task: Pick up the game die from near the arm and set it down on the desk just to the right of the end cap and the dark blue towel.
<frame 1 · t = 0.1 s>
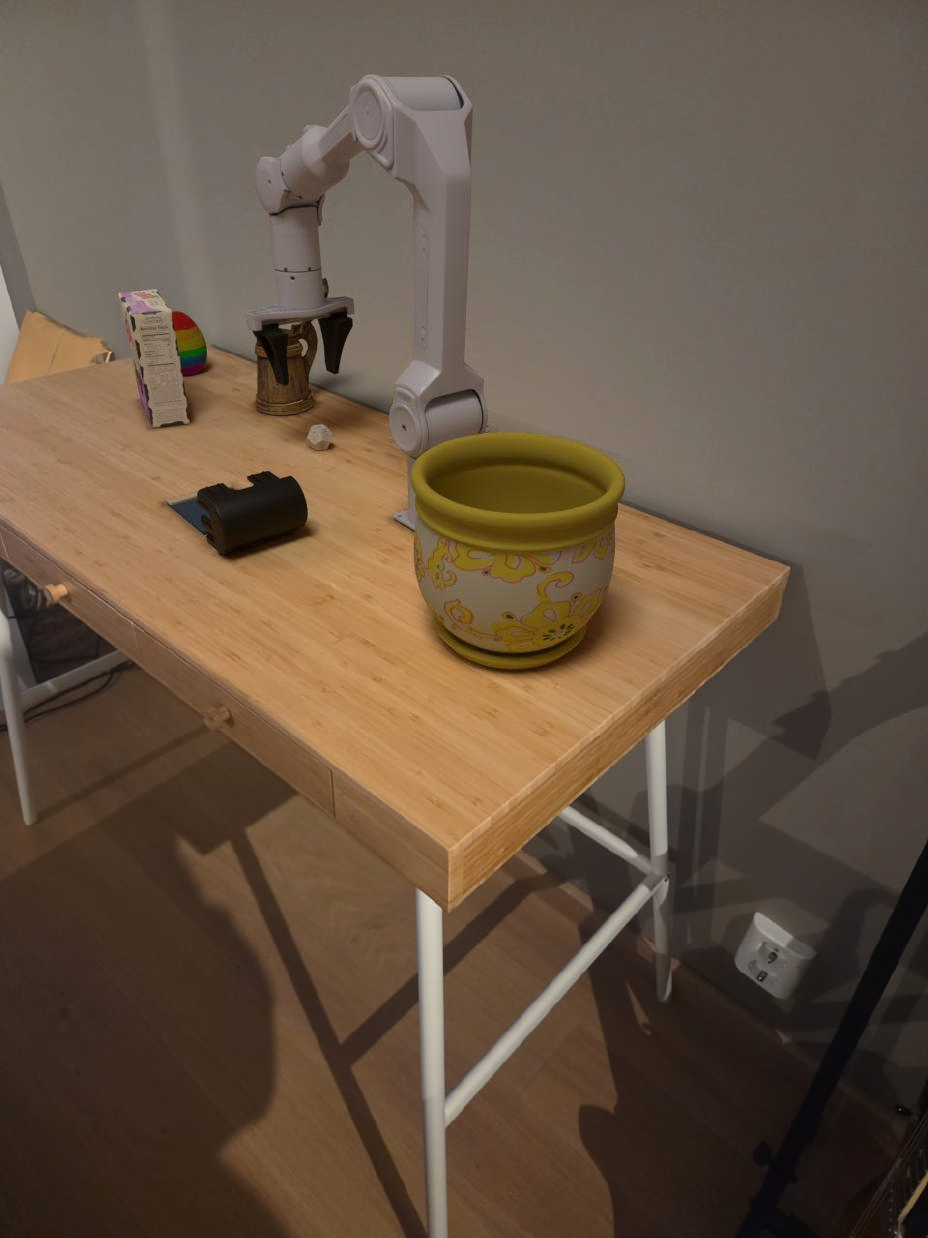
hand: (308, 377, 110), 10 cm above the table, tool pointing down, fingers open, 7 cm apart
flowerpot: (509, 632, 79), on the table
candy box: (165, 412, 127), on the table
wooden mug: (298, 404, 131), on the table
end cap: (256, 542, 93), on the table
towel: (216, 509, 99), on the table
decorative egg: (185, 372, 144), on the table
game die: (320, 448, 116), on the table
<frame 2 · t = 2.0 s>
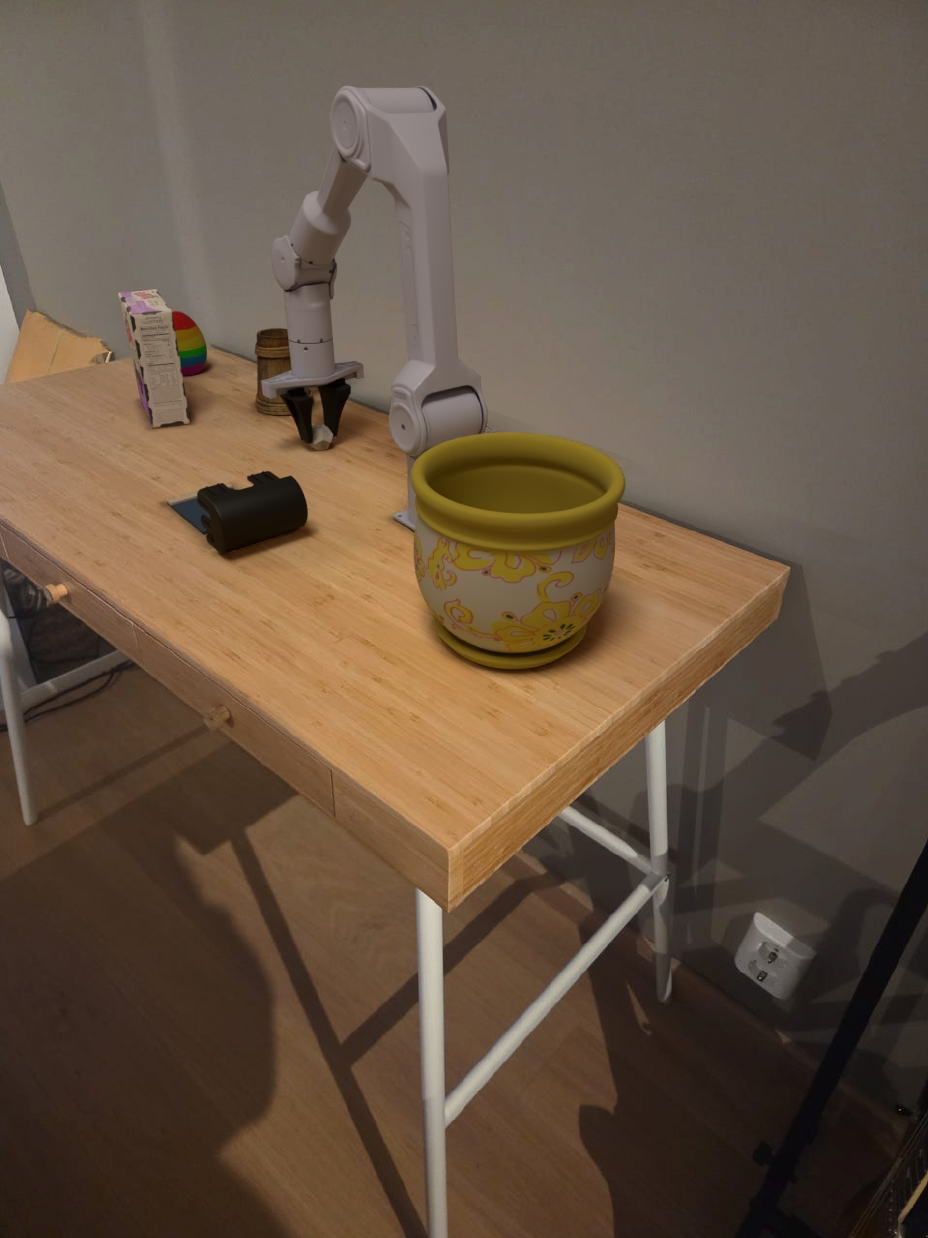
hand: (319, 438, 115), 1 cm above the table, tool pointing down, fingers closed on game die, 3 cm apart
game die: (320, 448, 116), on the table, touching gripper
everything else where it was.
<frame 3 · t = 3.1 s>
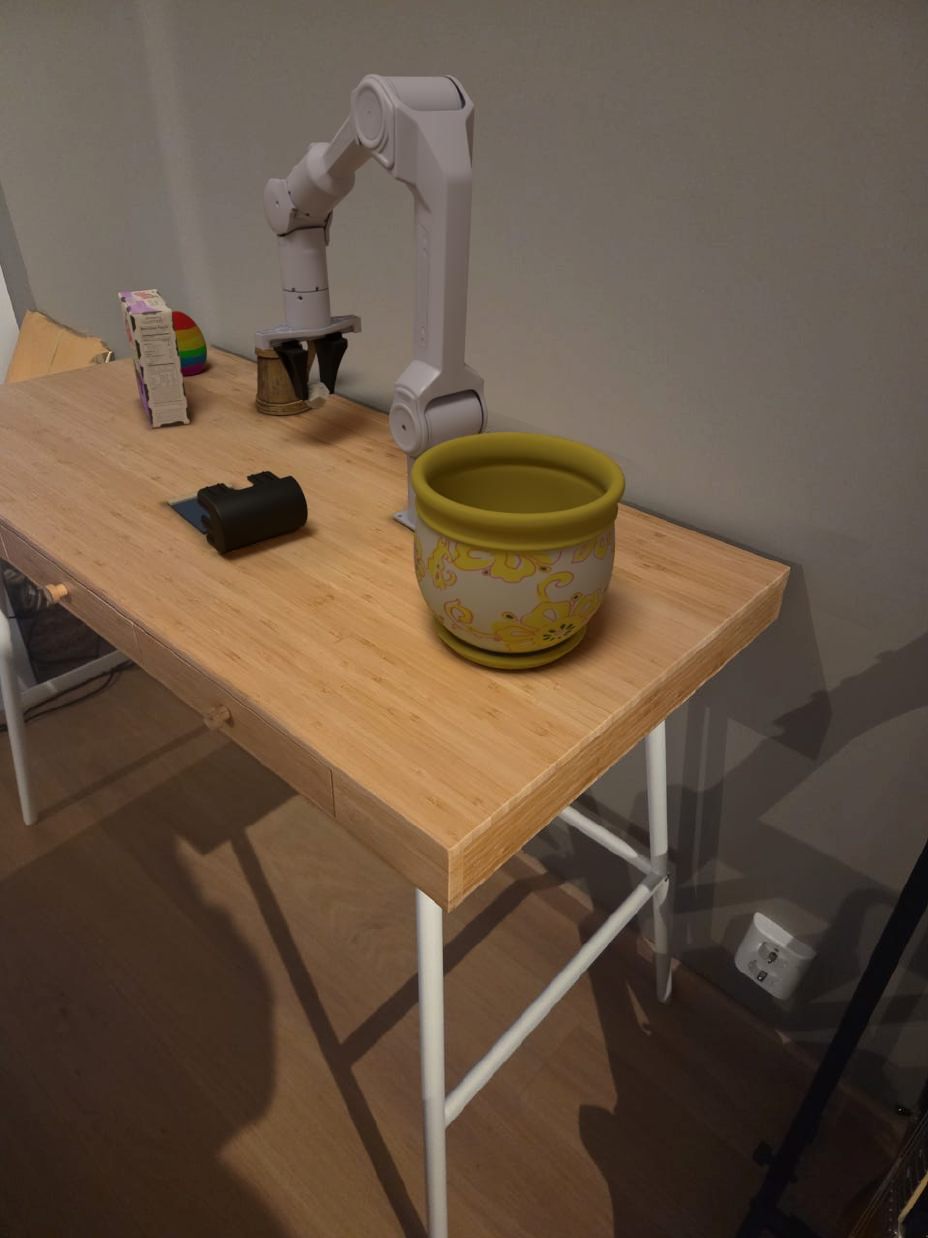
hand: (315, 395, 110), 8 cm above the table, tool pointing down, fingers closed on game die, 3 cm apart
game die: (316, 406, 111), point 6 cm above the table, touching gripper
everything else where it was.
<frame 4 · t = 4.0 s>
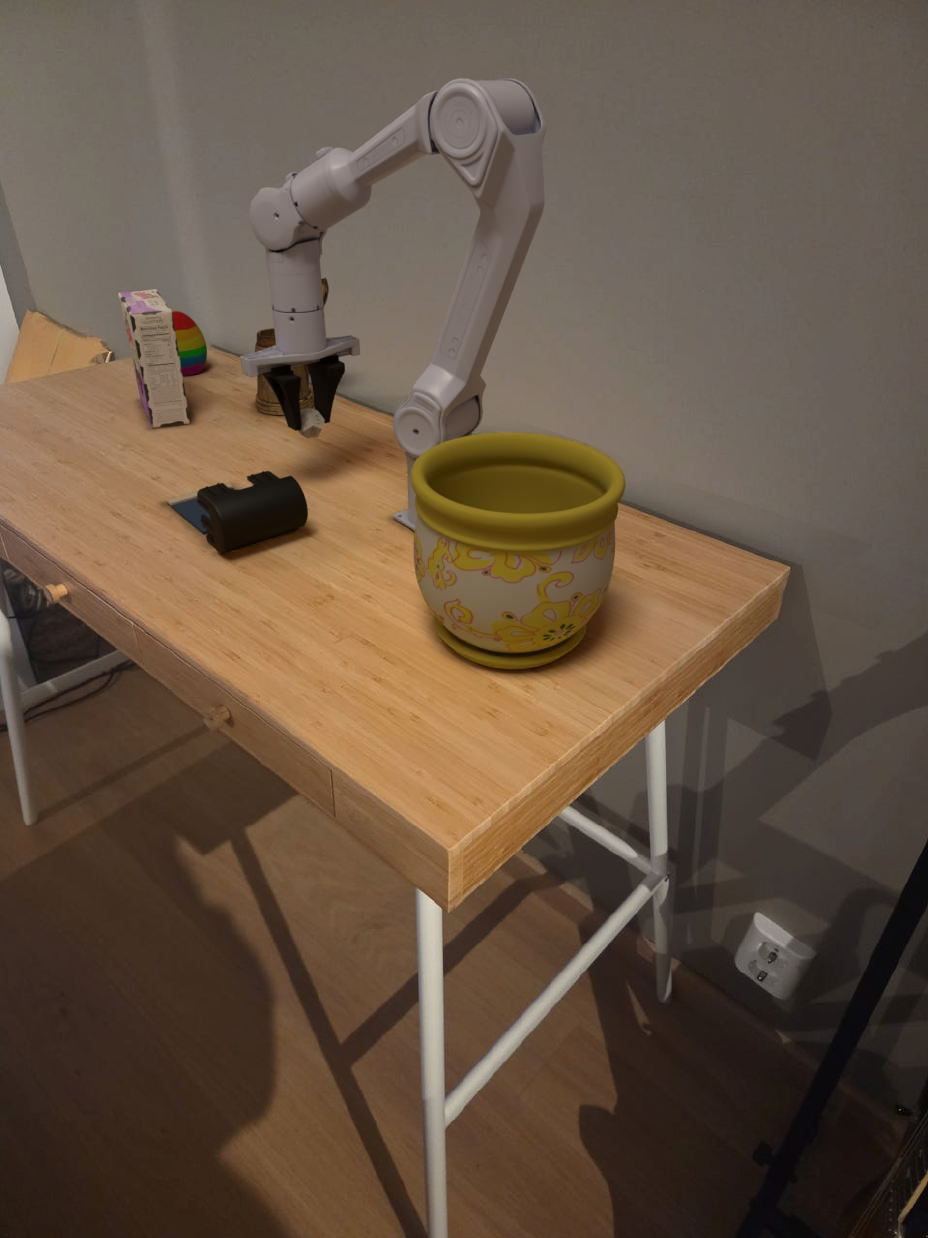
hand: (309, 424, 100), 8 cm above the table, tool pointing down, fingers closed on game die, 3 cm apart
game die: (310, 436, 101), point 7 cm above the table, touching gripper
everything else where it was.
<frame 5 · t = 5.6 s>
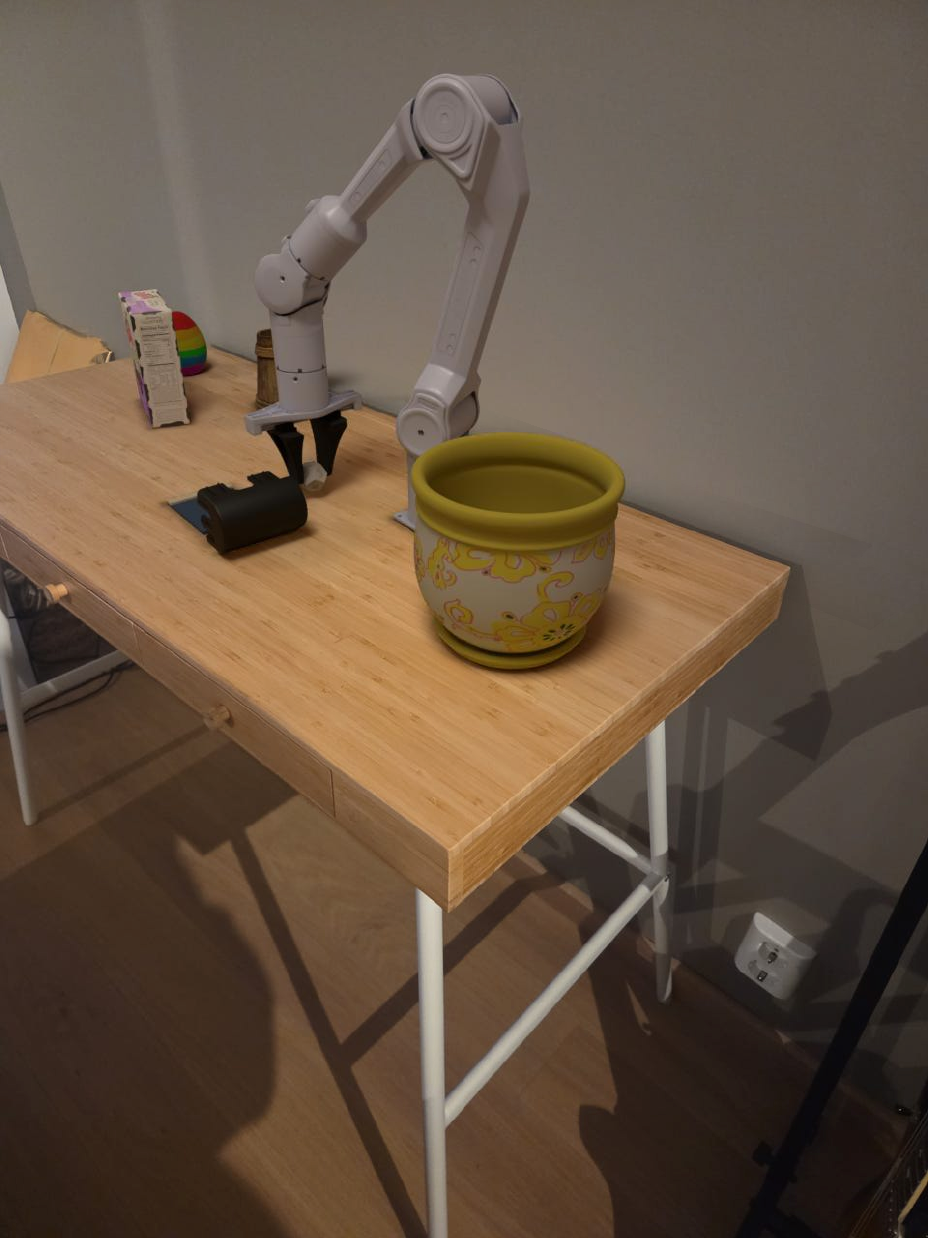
hand: (311, 477, 101), 3 cm above the table, tool pointing down, fingers closed on game die, 3 cm apart
game die: (313, 488, 102), point 1 cm above the table, touching gripper
everything else where it was.
when the fingers open (1 cm above the table, at t = 6.3 s): game die stays where it is, on the table.
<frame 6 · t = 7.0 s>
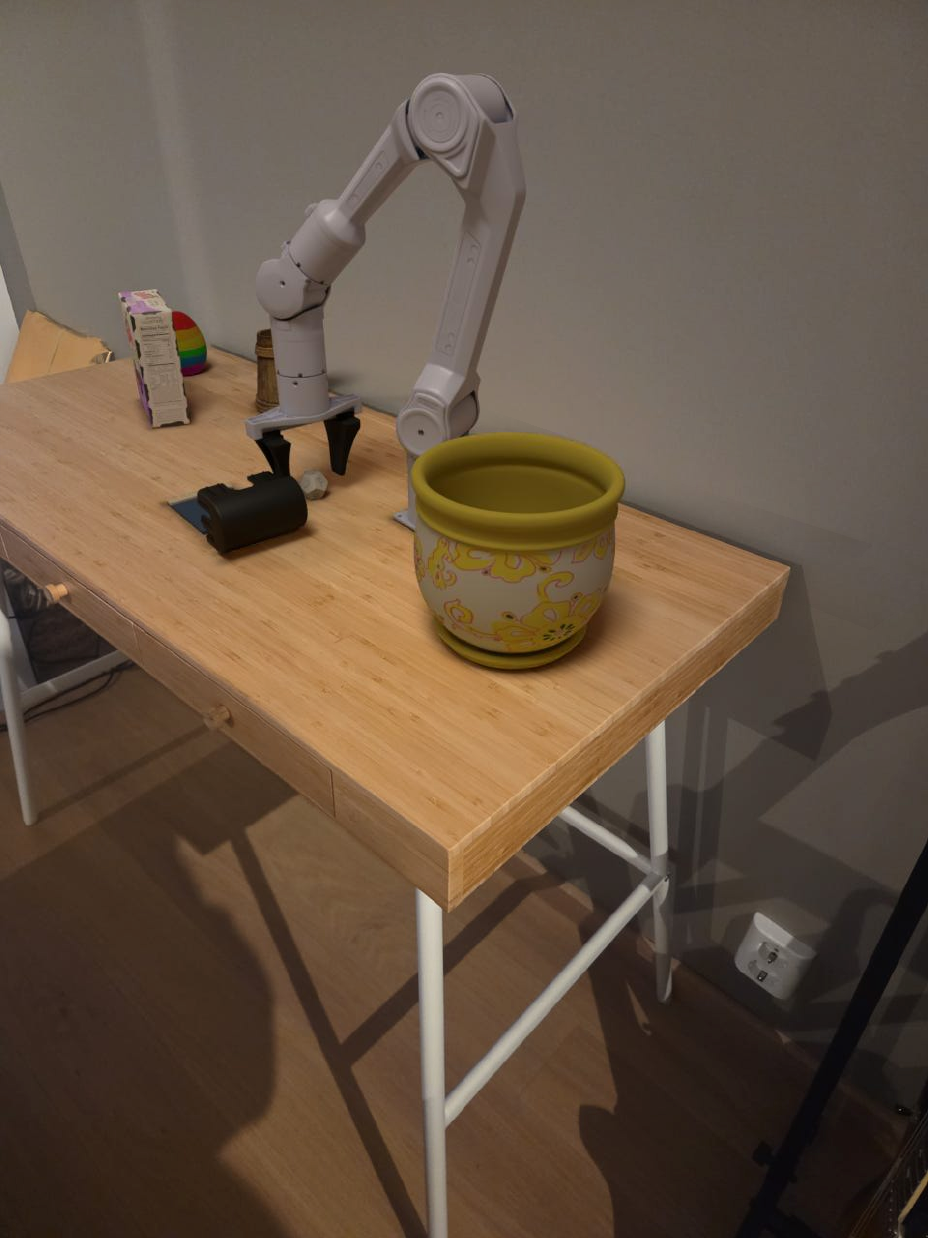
hand: (312, 481, 101), 2 cm above the table, tool pointing down, fingers open, 7 cm apart
game die: (314, 497, 103), on the table
everything else where it was.
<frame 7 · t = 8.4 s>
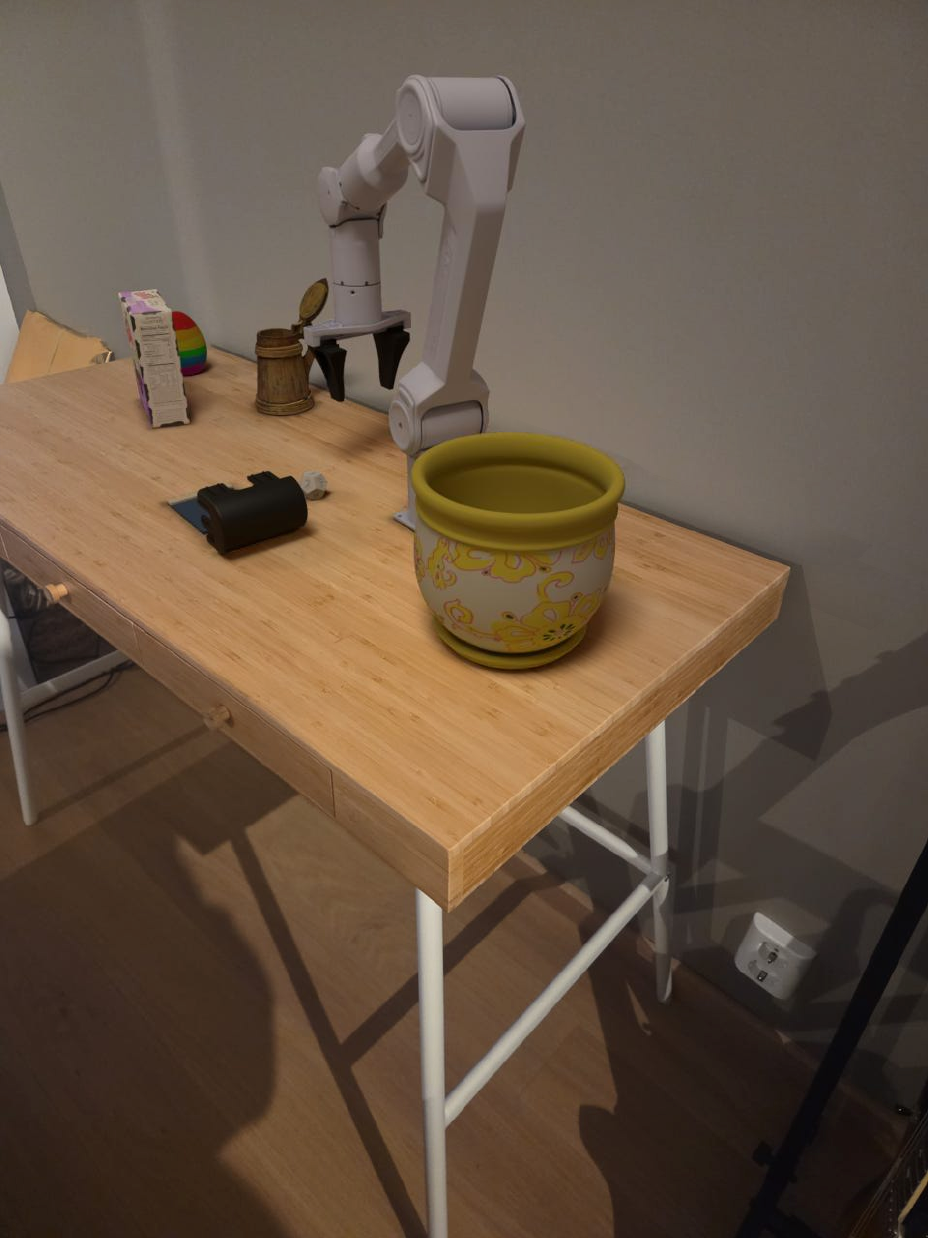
hand: (362, 393, 106), 9 cm above the table, tool pointing down, fingers open, 7 cm apart
nothing on the table moved.
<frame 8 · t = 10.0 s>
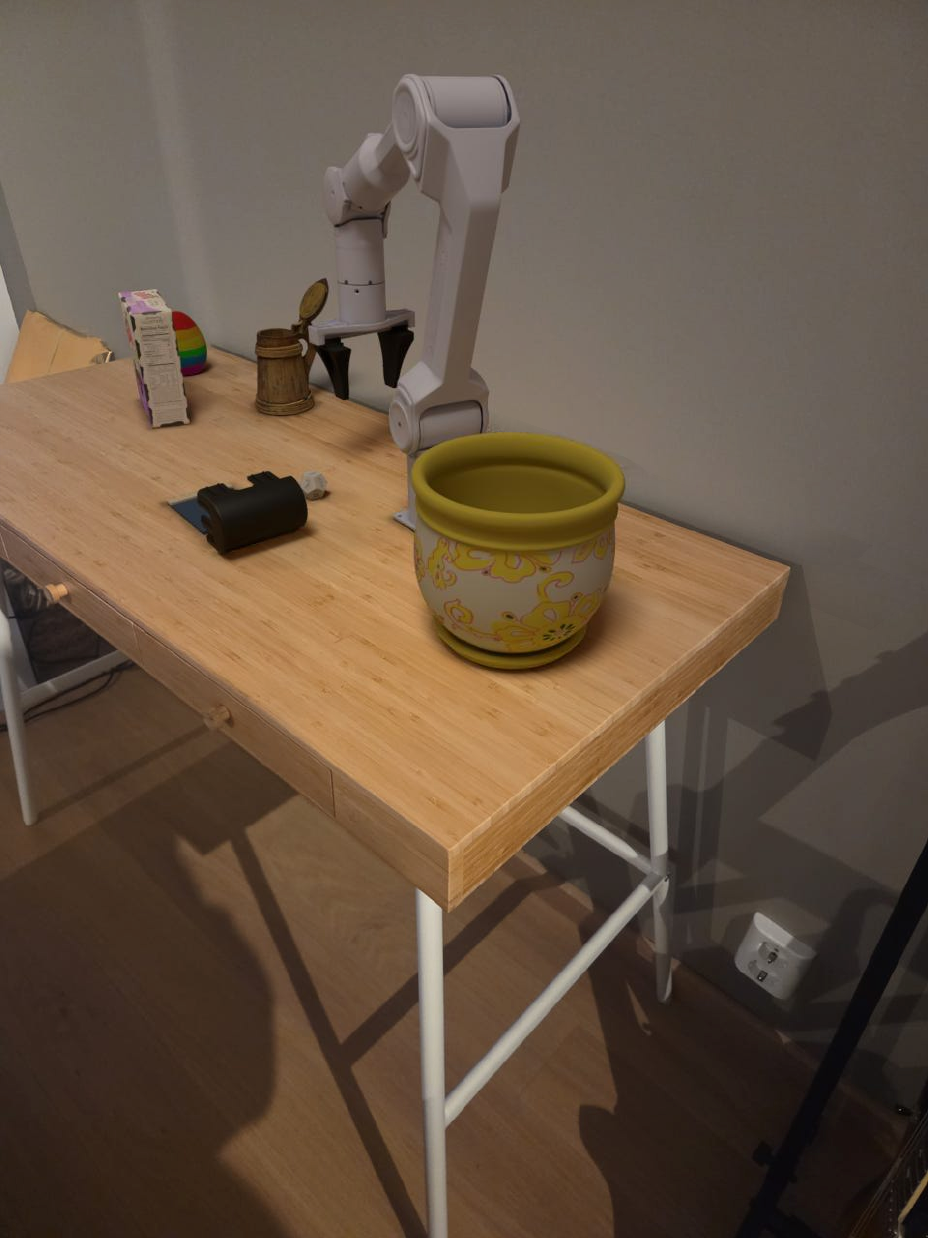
hand: (367, 391, 107), 9 cm above the table, tool pointing down, fingers open, 7 cm apart
nothing on the table moved.
at the end: game die inside the target area on the table beside the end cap (0.1 cm from its centre), on the table; the gripper is holding nothing; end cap moved 0.2 cm from its start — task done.
